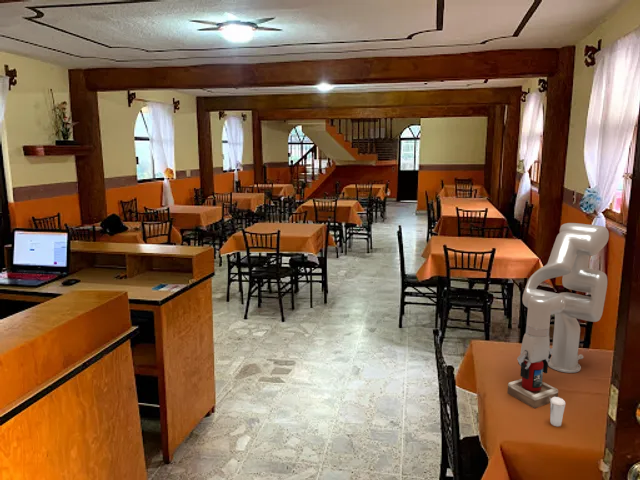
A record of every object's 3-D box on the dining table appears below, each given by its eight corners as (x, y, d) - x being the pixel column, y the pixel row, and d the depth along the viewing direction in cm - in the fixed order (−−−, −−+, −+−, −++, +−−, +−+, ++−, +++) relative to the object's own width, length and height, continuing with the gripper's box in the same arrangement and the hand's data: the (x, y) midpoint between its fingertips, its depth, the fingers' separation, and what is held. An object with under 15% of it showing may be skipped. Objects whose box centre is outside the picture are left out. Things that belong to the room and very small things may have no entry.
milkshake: (543, 420, 164) (545, 393, 162) (558, 419, 164) (560, 392, 162) (550, 428, 159) (553, 400, 158) (566, 427, 160) (568, 399, 158)
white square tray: (529, 385, 187) (530, 375, 186) (557, 400, 177) (558, 389, 176) (507, 393, 182) (508, 382, 181) (534, 408, 171) (535, 397, 171)
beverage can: (539, 395, 175) (542, 363, 172) (519, 390, 178) (522, 359, 176) (542, 387, 180) (545, 356, 178) (523, 382, 184) (525, 352, 181)
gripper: (545, 322, 181) (541, 365, 185) (511, 331, 174) (508, 375, 177) (563, 329, 175) (558, 373, 178) (529, 338, 167) (525, 384, 170)
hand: (533, 374), depth 178 cm, fingers open, 9 cm apart
